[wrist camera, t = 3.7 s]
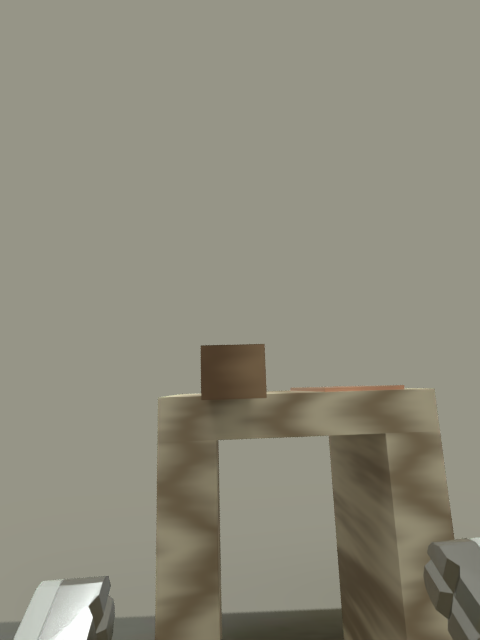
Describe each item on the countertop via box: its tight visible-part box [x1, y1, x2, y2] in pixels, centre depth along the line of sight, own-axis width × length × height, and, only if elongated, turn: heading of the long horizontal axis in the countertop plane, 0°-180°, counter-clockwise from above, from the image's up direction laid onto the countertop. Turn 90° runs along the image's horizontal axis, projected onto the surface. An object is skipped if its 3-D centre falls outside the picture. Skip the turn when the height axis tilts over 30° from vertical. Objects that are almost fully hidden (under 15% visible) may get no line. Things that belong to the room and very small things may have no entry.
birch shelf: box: [155, 385, 454, 640], centre depth 30 cm, size 20×14×26 cm
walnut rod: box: [201, 344, 267, 400], centre depth 27 cm, size 4×22×2 cm, turn 3°
